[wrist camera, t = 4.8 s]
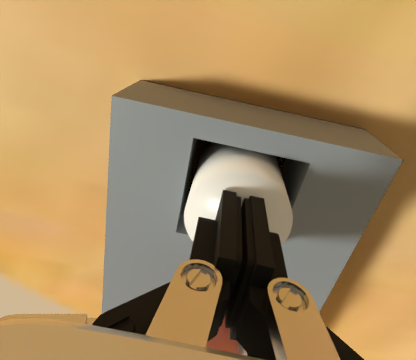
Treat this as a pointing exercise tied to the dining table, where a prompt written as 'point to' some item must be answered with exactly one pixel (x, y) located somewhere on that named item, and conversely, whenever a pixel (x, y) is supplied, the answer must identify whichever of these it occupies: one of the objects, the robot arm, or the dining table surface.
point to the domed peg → (238, 186)
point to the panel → (246, 139)
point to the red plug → (223, 341)
